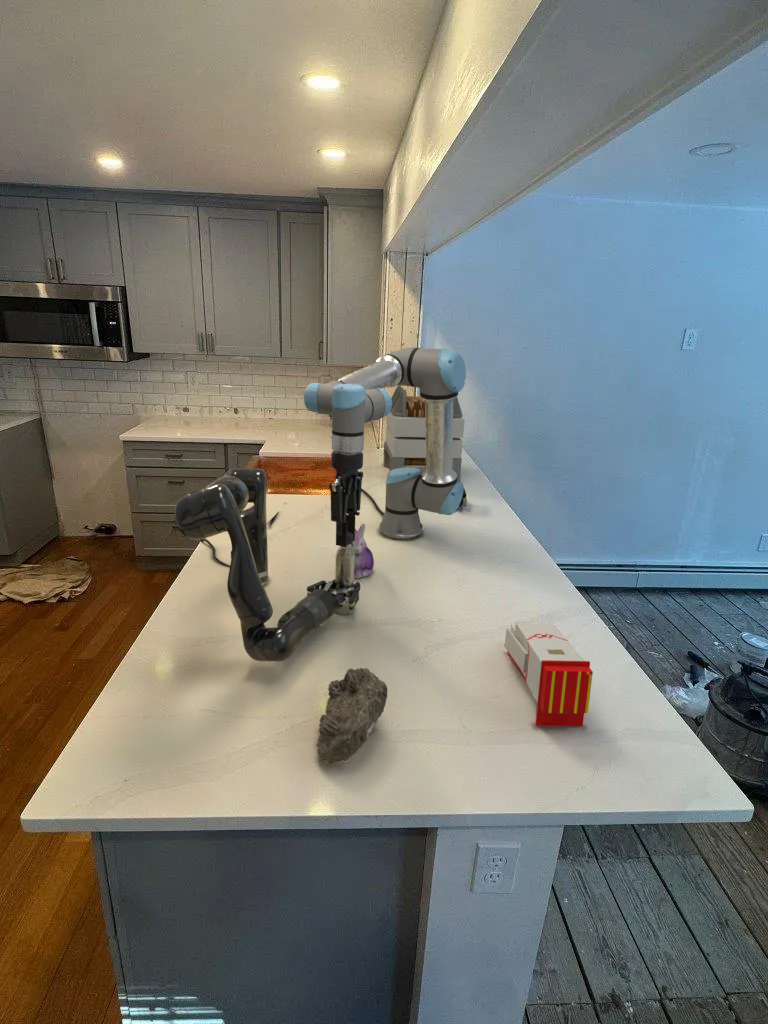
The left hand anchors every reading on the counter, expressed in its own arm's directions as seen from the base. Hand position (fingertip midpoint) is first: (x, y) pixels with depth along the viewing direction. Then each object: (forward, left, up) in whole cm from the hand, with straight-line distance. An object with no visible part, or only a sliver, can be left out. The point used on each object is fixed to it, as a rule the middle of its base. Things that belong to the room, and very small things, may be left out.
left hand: (349, 582), depth 148 cm
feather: (-57, +45, -7) cm, 73 cm away
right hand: (0, -3, +12) cm, 13 cm away
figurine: (-7, +19, -7) cm, 21 cm away
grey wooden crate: (-36, +129, -7) cm, 135 cm away
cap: (0, -3, +15) cm, 15 cm away
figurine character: (-4, +93, -7) cm, 93 cm away
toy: (+52, -8, -7) cm, 53 cm away
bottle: (0, -3, -7) cm, 7 cm away
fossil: (+24, -40, -7) cm, 47 cm away
